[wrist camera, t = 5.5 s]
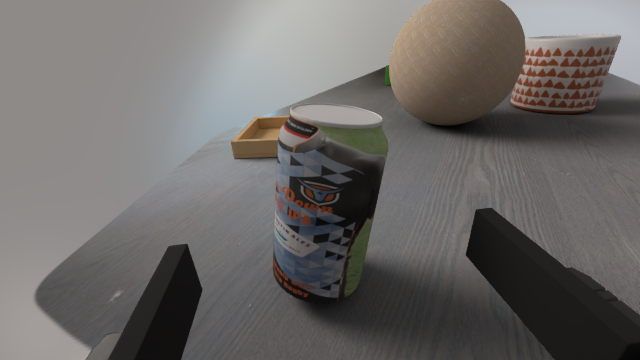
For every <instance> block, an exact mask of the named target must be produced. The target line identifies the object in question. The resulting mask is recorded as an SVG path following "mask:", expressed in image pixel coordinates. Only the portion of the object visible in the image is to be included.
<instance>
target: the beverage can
mask: <svg viewBox="0 0 640 360" xmlns="http://www.w3.org/2000/svg"><path fill="white" fill-rule="evenodd" d="M382 121H383V119H382V117H381V116H380V115H378V114H376V113H374V112H371V111H368V110H365V109H361V108H356V107H351V106H345V105H338V104H328V103H304V104H298V105H294V106H292V107H291V109H290V117H289V118H288V119H287V121H286V122H285V123H284V124H283V126H282V127H281V129H280V131H279V135H278V156H277V181H276V206H275V231H274V256H273V272H274V276H275V279H276V281H277V282H278V284H279V285H280V286H281V287H282V288H283V289H284V290H285V291H286V292H287V293H289V294H290V295H292V296H293V297H296V298H298V299H300V300H304V301H307V302H313V303H330V302H335V301H338V300H341V299H343V298H345V297H347V296H349V295H350V294H351V293H352V292H354V290H355V289H356V288H357V286H358V284H359V282H360V279H361V274H362V270H363V265H364V260H365V255H366V251H367V246H368V241H369V237H370V232H371V227H372V222H373V218H374V213H375V208H376V204H377V199H378V194H379V189H380V185H381V180H382V175H383V171H384V166H385V161H386V156H387V152H388V141H387V138H386V136H385V134H384V132H383V129H382V126H381V125H382Z"/></svg>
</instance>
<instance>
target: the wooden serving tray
mask: <svg viewBox="0 0 640 360" xmlns="http://www.w3.org/2000/svg"><path fill="white" fill-rule="evenodd" d="M289 117H290V116H276V117H255V118H254V119H253V120H252V121H251V122H250V123H249V124H248V125H247V126H246V127H245V128H244V129H243V130H242V131H241V132H240V133H239V134H238V135H237V136H236V137H235V138H234V139H233V140H232V141H231V145H232V150H233V154H234V158H260V157H277V156H278V135H279V131H280V129H281V127H282V126H283V124H284V123H285V122H286V121H287V119H288V118H289Z"/></svg>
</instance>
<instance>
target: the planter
mask: <svg viewBox="0 0 640 360" xmlns="http://www.w3.org/2000/svg"><path fill="white" fill-rule="evenodd" d="M620 39H621V36H620V35H564V36H543V37H531V38H526V39H525V46H526V48H525V59H524V64H523V68H522V71H521V73H520V76H519V78H518V80H517V82H516V84H515V86H514V89H513V93H512V97H511V104H512V105H513V106H514V107H517V108H520V109H524V110H528V111H534V112H542V113H555V114H576V113H585V112H589V111H591V110H593V109H594V108H595V106H596V103H597V101H598V98H599V95H600V92H601V90H602V87H603V84H604V82H605V79H606V76H607V74H608V71H609V68H610V66H611V63H612V60H613V58H614V55H615V52H616V50H617V47H618V44H619V42H620Z"/></svg>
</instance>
